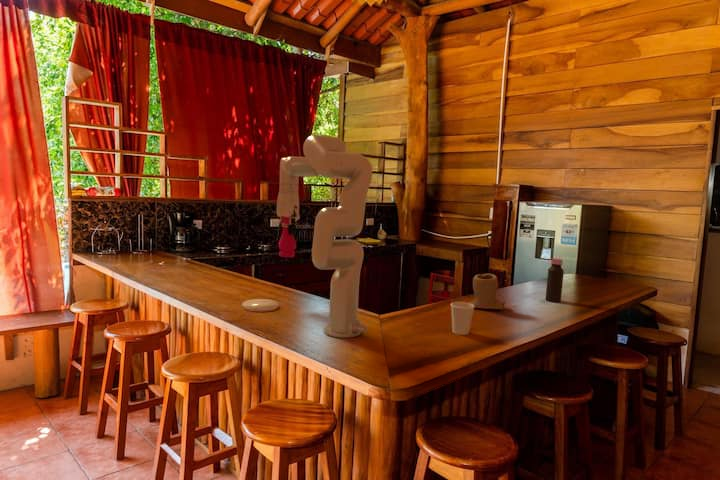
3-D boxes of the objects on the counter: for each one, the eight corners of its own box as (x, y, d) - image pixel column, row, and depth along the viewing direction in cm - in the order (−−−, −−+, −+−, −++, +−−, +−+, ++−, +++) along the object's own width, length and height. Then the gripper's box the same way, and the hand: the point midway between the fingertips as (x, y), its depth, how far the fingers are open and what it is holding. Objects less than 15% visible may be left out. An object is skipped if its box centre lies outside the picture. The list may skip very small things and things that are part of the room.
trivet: (285, 306, 191) (285, 302, 191) (262, 313, 179) (262, 309, 179) (258, 300, 198) (258, 297, 198) (234, 307, 186) (234, 303, 186)
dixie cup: (455, 327, 174) (457, 300, 172) (476, 332, 168) (478, 305, 167) (444, 332, 167) (446, 304, 166) (465, 337, 162) (468, 309, 161)
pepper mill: (298, 255, 197) (300, 207, 195) (291, 258, 190) (292, 208, 188) (282, 254, 199) (284, 206, 197) (274, 256, 192) (276, 207, 190)
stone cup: (469, 310, 200) (471, 275, 198) (468, 303, 211) (471, 270, 210) (506, 314, 197) (509, 278, 195) (504, 307, 208) (507, 273, 206)
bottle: (558, 299, 229) (562, 258, 226) (562, 303, 222) (566, 260, 220) (543, 298, 229) (547, 257, 227) (547, 302, 223) (551, 259, 220)
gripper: (269, 188, 195) (268, 232, 197) (293, 189, 183) (291, 236, 185) (284, 188, 200) (283, 231, 202) (309, 189, 188) (307, 235, 190)
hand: (287, 233), depth 193 cm, fingers closed on pepper mill, 5 cm apart
